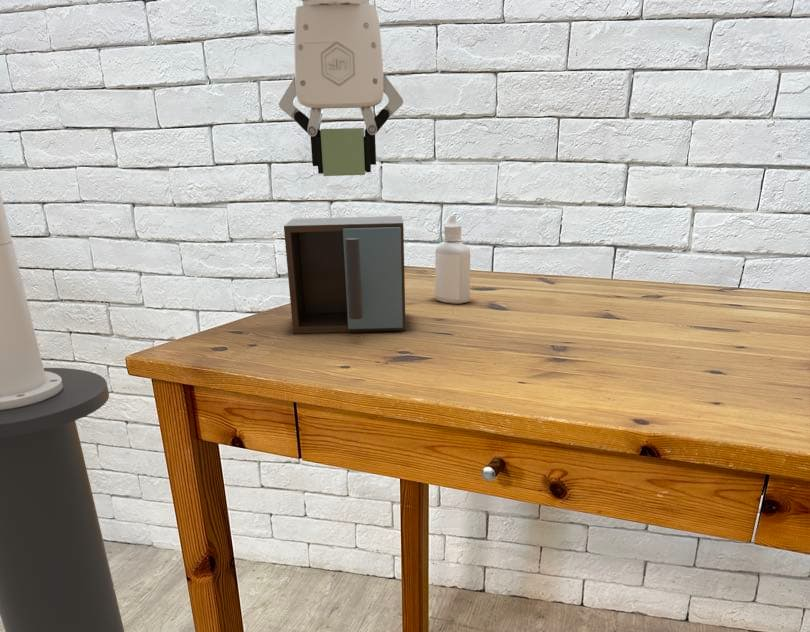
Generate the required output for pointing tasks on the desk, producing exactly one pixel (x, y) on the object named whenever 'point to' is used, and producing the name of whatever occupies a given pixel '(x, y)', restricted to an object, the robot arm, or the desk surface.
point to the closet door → (373, 277)
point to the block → (343, 151)
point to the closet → (326, 271)
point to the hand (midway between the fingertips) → (345, 170)
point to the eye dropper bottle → (452, 267)
